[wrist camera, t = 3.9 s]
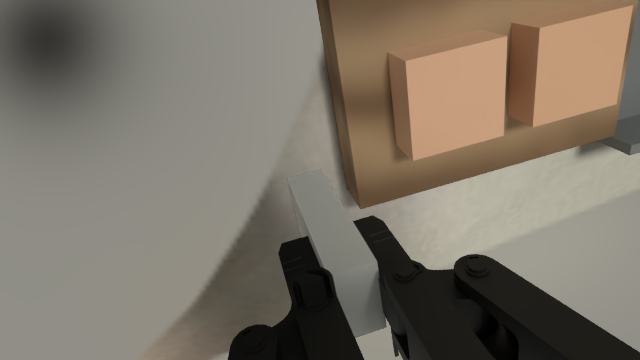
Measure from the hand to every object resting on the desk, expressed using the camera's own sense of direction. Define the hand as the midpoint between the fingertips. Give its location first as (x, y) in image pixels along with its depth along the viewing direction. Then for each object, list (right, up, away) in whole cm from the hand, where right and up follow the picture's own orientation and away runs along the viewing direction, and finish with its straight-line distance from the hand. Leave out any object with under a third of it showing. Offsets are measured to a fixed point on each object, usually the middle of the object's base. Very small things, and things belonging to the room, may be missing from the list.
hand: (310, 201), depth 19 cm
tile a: (+8, +6, +8) cm, 13 cm away
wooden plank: (+11, +9, +11) cm, 18 cm away
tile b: (+15, +9, +9) cm, 20 cm away
